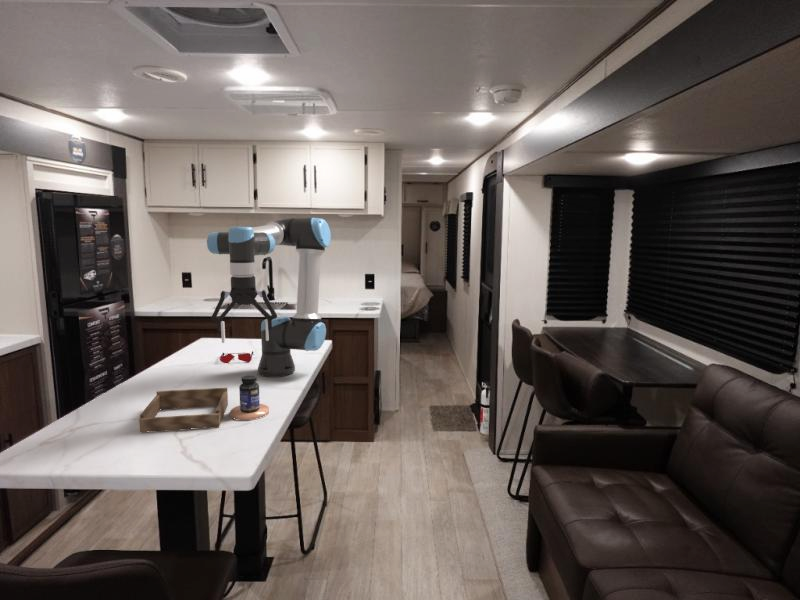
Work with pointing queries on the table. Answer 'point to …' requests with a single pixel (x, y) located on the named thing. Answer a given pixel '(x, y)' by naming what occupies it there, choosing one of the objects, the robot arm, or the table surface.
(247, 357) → the glasses
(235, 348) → the table surface
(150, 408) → the frame
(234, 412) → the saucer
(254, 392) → the pill bottle
